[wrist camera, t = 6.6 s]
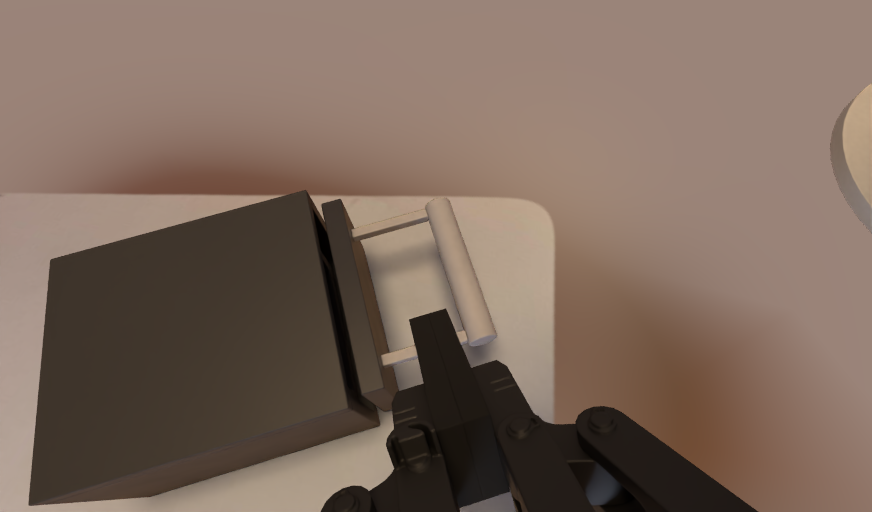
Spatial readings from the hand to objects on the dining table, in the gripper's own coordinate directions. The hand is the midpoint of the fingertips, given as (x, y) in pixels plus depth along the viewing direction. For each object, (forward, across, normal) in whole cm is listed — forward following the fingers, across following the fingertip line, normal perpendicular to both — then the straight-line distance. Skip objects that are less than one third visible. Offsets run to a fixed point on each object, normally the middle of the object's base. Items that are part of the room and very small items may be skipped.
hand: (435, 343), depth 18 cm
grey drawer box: (+13, -12, -5) cm, 18 cm away
